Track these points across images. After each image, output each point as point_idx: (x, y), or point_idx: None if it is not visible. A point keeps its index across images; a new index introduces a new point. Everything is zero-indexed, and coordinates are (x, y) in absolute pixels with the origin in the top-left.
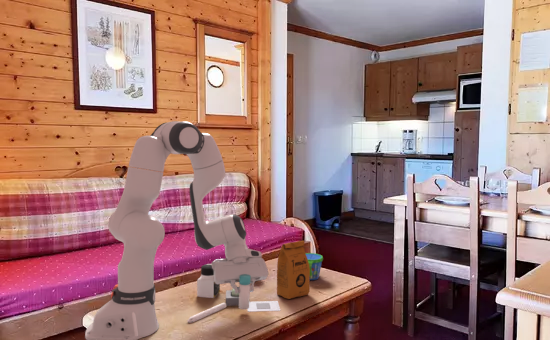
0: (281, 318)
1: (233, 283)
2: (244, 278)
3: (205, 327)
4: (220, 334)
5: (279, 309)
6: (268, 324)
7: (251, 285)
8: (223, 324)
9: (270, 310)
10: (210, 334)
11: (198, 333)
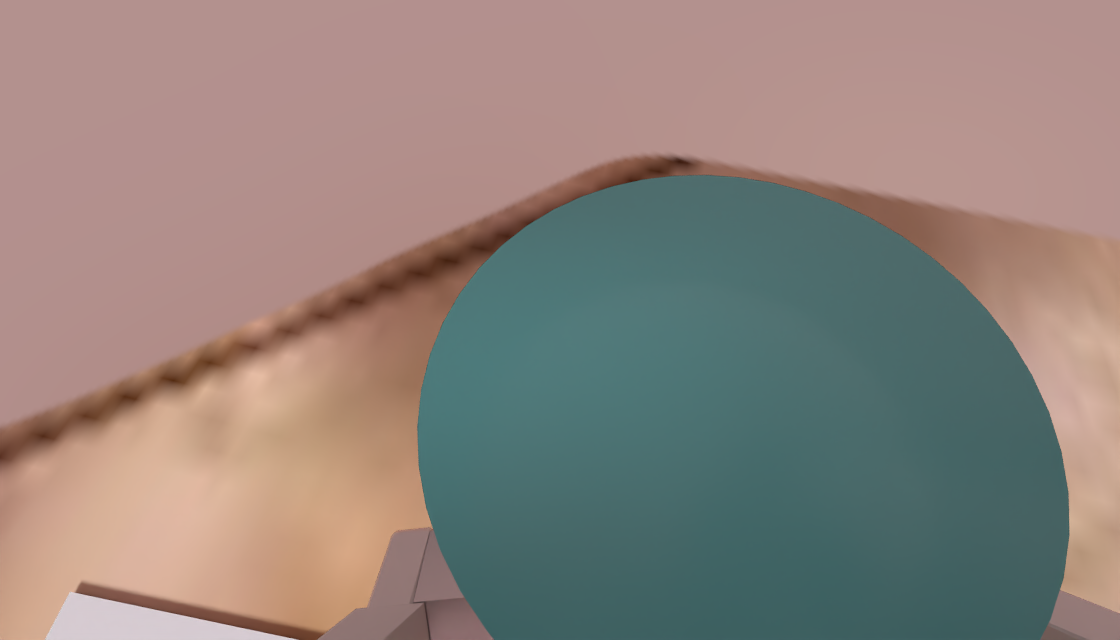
0: (201, 375)
1: (1108, 631)
2: (774, 195)
3: (1077, 369)
4: (894, 211)
5: (59, 631)
6: (404, 281)
7: (423, 604)
8: None
9: (202, 630)
10: (989, 229)
11: (1113, 269)
